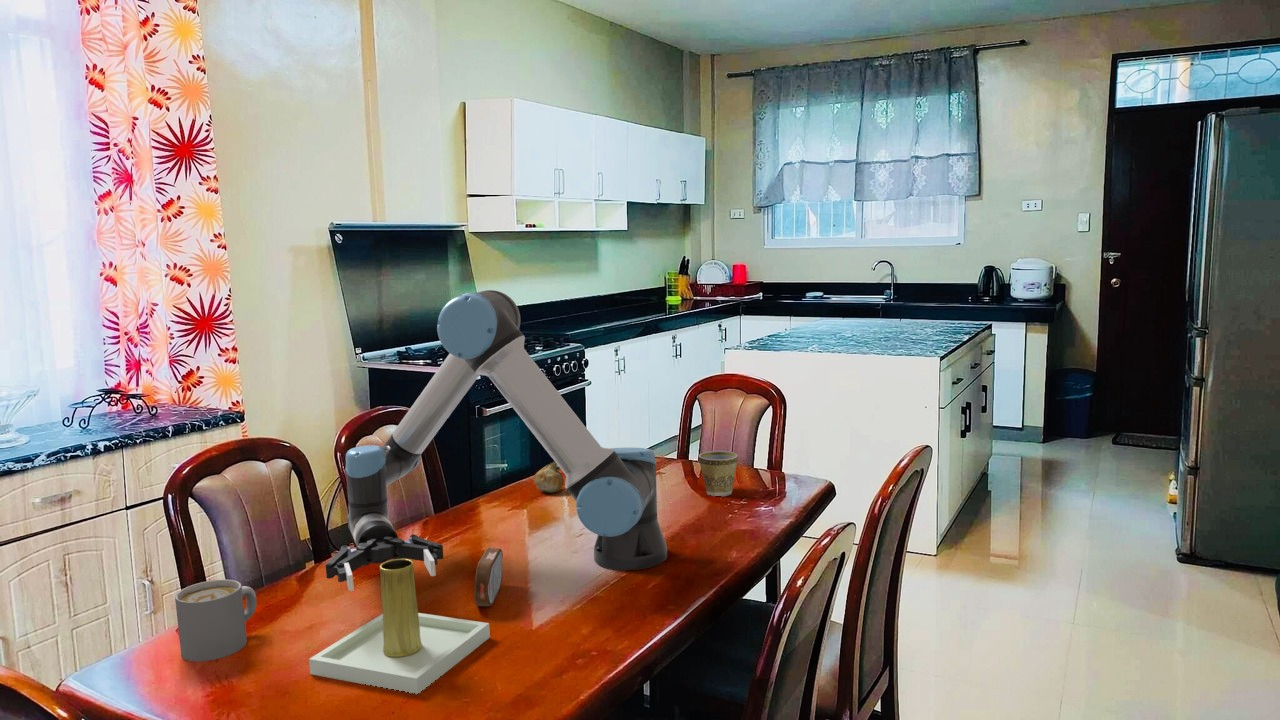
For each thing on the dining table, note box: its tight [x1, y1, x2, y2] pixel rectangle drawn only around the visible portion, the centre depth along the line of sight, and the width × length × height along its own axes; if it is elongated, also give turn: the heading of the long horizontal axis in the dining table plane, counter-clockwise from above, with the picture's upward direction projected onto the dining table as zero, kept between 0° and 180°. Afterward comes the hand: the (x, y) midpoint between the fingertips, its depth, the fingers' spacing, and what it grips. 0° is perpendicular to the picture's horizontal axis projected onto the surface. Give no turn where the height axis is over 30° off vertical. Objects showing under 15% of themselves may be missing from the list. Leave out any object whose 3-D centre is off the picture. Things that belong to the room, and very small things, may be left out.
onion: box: [533, 461, 565, 494], centre depth 236 cm, size 8×8×8 cm
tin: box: [474, 547, 504, 608], centre depth 166 cm, size 15×3×8 cm, turn 178°
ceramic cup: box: [698, 450, 739, 497], centre depth 231 cm, size 13×10×10 cm
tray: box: [308, 612, 491, 695], centre depth 144 cm, size 20×20×2 cm
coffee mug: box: [174, 578, 258, 663], centre depth 150 cm, size 13×10×10 cm
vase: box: [379, 558, 422, 657], centre depth 143 cm, size 6×6×14 cm
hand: (392, 575), depth 151 cm, fingers open, 13 cm apart
